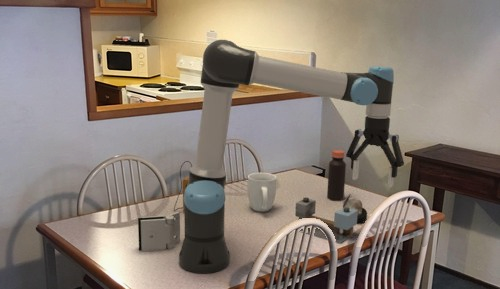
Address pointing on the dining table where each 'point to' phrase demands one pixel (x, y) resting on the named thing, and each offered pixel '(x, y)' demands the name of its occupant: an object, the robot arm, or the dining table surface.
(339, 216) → the block
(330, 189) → the bottle
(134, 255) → the dining table surface
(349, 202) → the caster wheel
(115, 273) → the dining table surface
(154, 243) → the hinge
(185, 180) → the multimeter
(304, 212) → the trammel beam
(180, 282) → the dining table surface
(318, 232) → the bolt plate
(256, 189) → the mug
